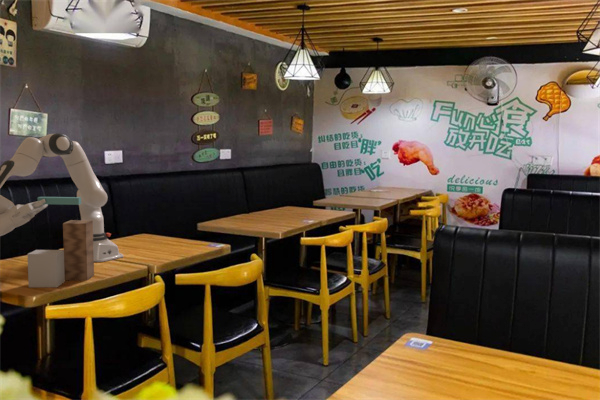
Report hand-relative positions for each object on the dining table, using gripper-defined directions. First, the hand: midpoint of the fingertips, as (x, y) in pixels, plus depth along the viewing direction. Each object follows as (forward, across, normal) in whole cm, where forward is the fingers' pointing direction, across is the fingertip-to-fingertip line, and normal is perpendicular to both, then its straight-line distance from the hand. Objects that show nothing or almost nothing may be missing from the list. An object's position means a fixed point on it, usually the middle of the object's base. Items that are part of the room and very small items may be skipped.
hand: (47, 199), depth 252 cm
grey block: (-15, -12, +33) cm, 38 cm away
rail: (+4, 0, +4) cm, 6 cm away
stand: (-6, 0, +38) cm, 38 cm away
